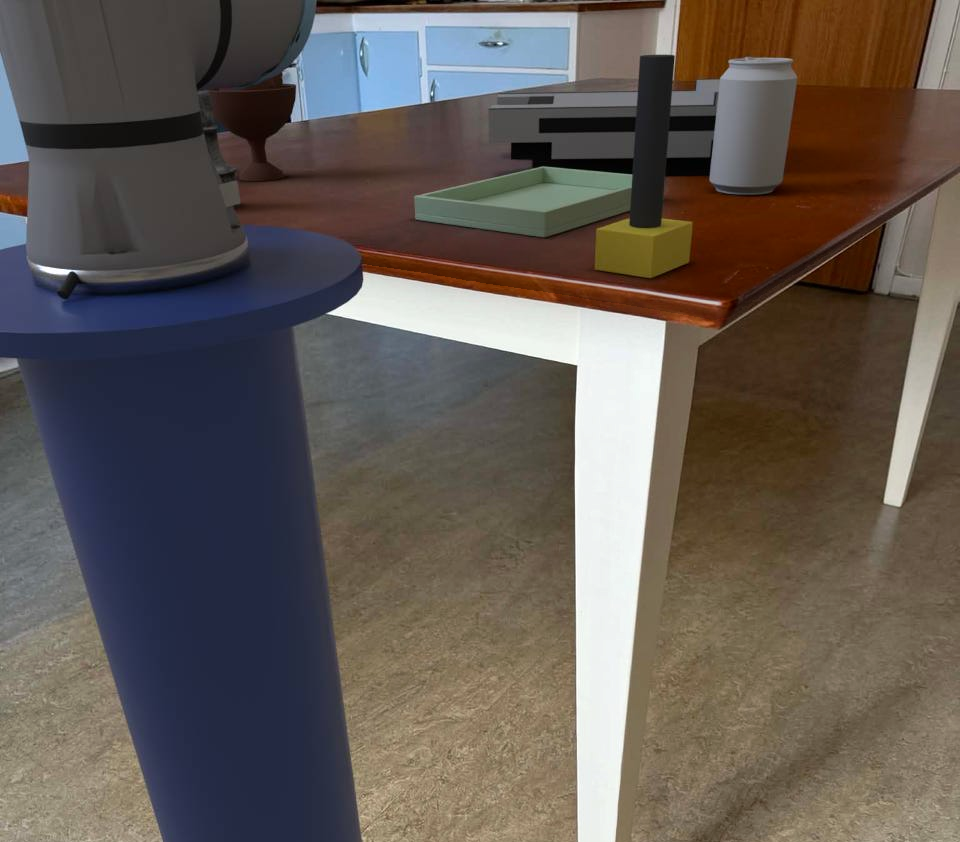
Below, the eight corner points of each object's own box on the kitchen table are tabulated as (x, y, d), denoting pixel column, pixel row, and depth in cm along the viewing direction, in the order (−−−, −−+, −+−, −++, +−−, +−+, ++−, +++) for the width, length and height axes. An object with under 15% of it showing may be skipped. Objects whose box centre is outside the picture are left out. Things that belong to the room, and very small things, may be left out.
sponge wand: (650, 278, 70) (668, 58, 62) (594, 270, 73) (603, 57, 65) (689, 262, 74) (710, 53, 66) (634, 254, 77) (647, 52, 69)
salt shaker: (237, 212, 96) (216, 75, 89) (179, 214, 96) (154, 76, 89) (246, 201, 101) (227, 71, 94) (191, 203, 100) (167, 72, 94)
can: (752, 199, 96) (770, 60, 89) (693, 190, 100) (706, 58, 93) (795, 189, 99) (815, 56, 93) (736, 181, 104) (752, 54, 97)
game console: (499, 152, 127) (499, 82, 122) (741, 149, 125) (749, 77, 120) (489, 178, 110) (488, 97, 105) (768, 175, 107) (779, 92, 103)
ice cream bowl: (290, 185, 109) (272, 31, 100) (200, 184, 111) (174, 33, 102) (319, 170, 118) (304, 27, 109) (235, 170, 119) (214, 29, 111)
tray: (544, 237, 83) (544, 212, 81) (415, 219, 91) (413, 196, 89) (663, 200, 96) (665, 177, 95) (542, 187, 104) (542, 166, 103)
